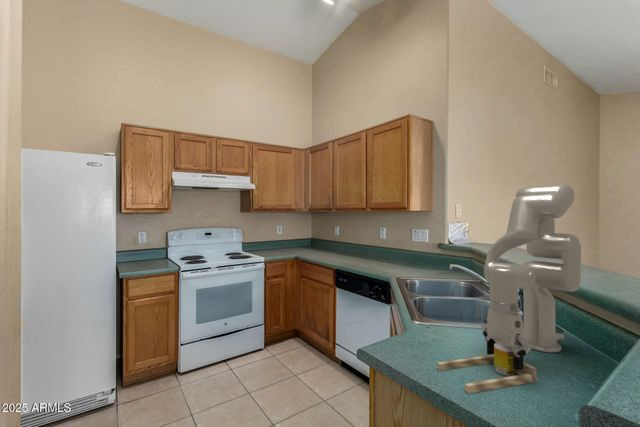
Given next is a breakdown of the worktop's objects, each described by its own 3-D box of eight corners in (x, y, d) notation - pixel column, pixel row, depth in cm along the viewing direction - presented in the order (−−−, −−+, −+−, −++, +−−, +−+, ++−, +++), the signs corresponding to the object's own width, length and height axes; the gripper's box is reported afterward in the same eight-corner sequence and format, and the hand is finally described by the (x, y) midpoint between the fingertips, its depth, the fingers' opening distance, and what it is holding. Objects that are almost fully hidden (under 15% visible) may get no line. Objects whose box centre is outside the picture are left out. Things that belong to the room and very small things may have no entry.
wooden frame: (499, 359, 98) (498, 347, 98) (537, 381, 85) (537, 367, 85) (437, 368, 92) (437, 356, 92) (468, 393, 79) (468, 379, 79)
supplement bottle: (510, 378, 87) (509, 344, 87) (490, 370, 91) (490, 338, 91) (518, 373, 90) (518, 340, 90) (499, 365, 94) (499, 334, 94)
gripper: (540, 314, 83) (540, 374, 83) (491, 298, 100) (491, 347, 100) (519, 316, 81) (519, 377, 81) (472, 299, 98) (473, 350, 98)
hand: (504, 361), depth 91 cm, fingers open, 9 cm apart
